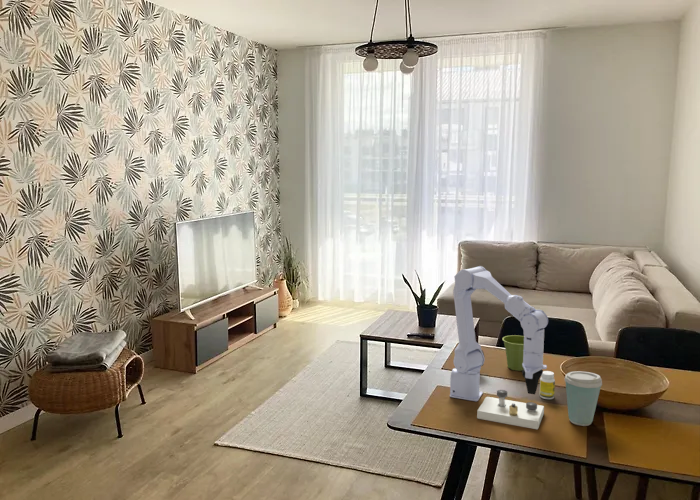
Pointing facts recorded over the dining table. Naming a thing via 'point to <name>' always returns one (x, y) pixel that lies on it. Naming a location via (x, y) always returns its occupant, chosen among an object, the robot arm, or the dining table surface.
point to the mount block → (501, 414)
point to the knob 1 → (502, 397)
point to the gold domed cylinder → (513, 410)
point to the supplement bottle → (547, 385)
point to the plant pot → (514, 351)
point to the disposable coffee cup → (582, 396)
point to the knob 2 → (531, 406)
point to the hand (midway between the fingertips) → (531, 393)
